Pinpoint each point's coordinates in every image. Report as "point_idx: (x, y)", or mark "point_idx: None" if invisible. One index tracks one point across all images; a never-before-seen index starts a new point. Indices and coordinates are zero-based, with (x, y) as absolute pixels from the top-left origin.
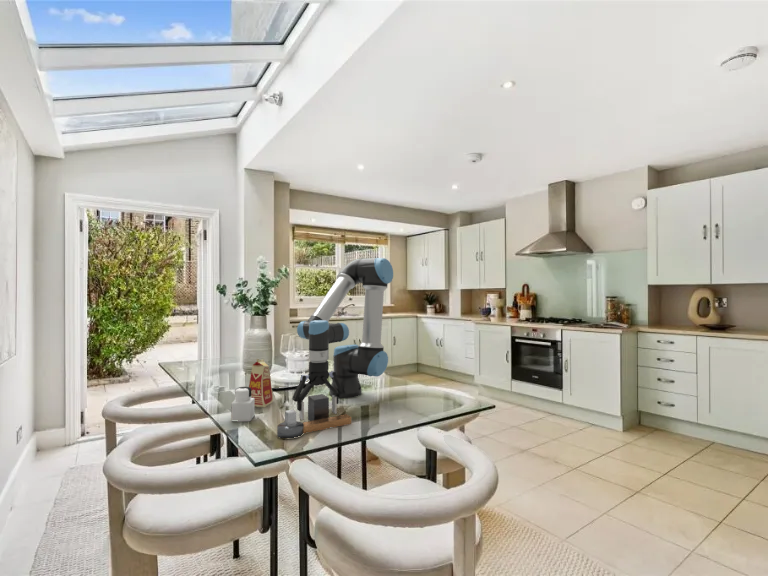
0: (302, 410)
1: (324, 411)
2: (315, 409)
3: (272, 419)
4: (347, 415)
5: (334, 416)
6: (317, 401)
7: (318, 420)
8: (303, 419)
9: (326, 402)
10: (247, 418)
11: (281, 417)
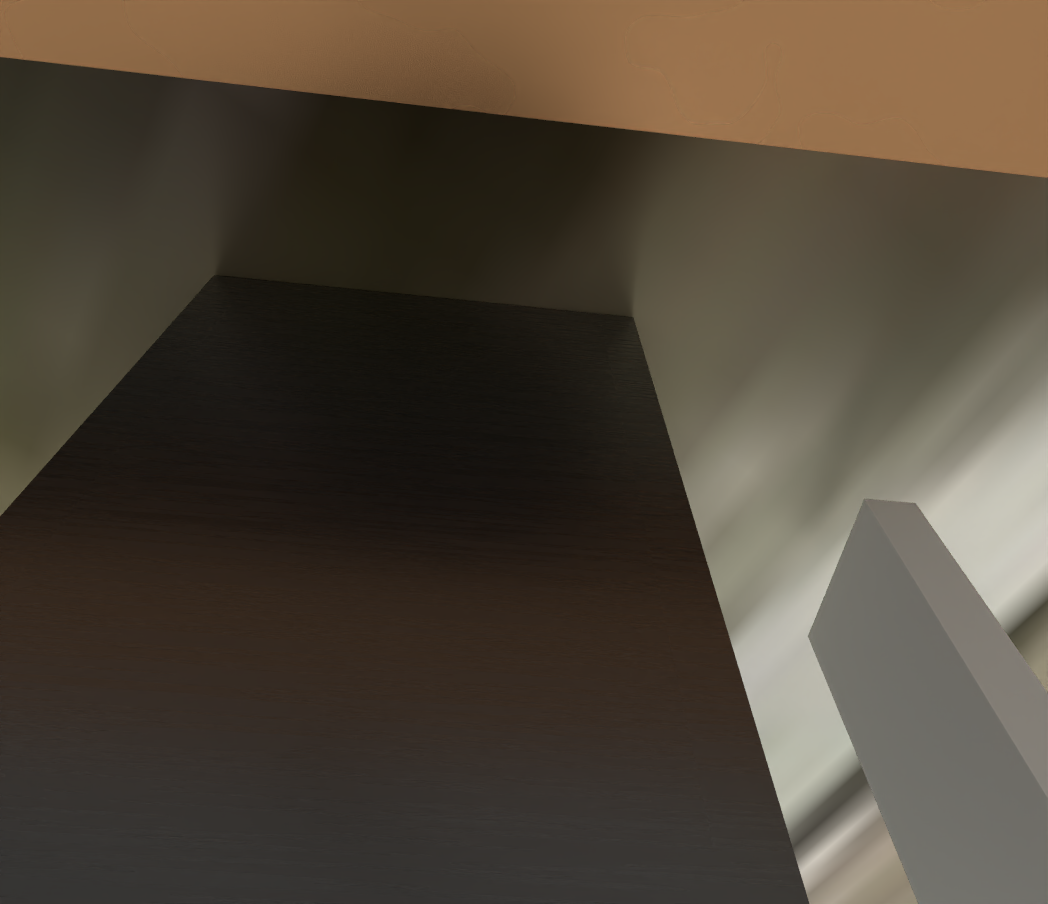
0: (1035, 703)
1: (269, 436)
2: (650, 549)
3: None
4: None
5: (2, 40)
6: (584, 852)
7: (746, 25)
8: (881, 502)
9: (20, 680)
10: None
11: (858, 869)
